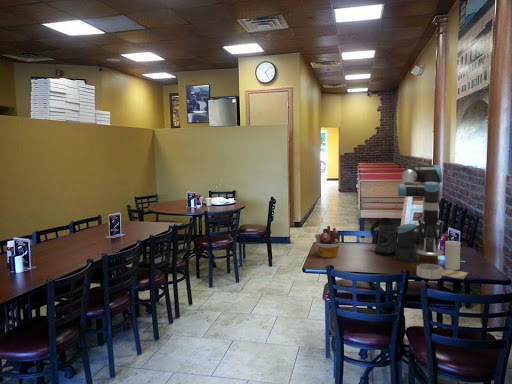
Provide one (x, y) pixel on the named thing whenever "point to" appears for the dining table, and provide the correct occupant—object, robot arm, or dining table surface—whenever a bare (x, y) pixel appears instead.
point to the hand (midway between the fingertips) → (430, 249)
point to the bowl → (429, 271)
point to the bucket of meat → (328, 243)
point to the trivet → (454, 274)
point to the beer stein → (385, 237)
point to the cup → (452, 255)
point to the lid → (430, 249)
